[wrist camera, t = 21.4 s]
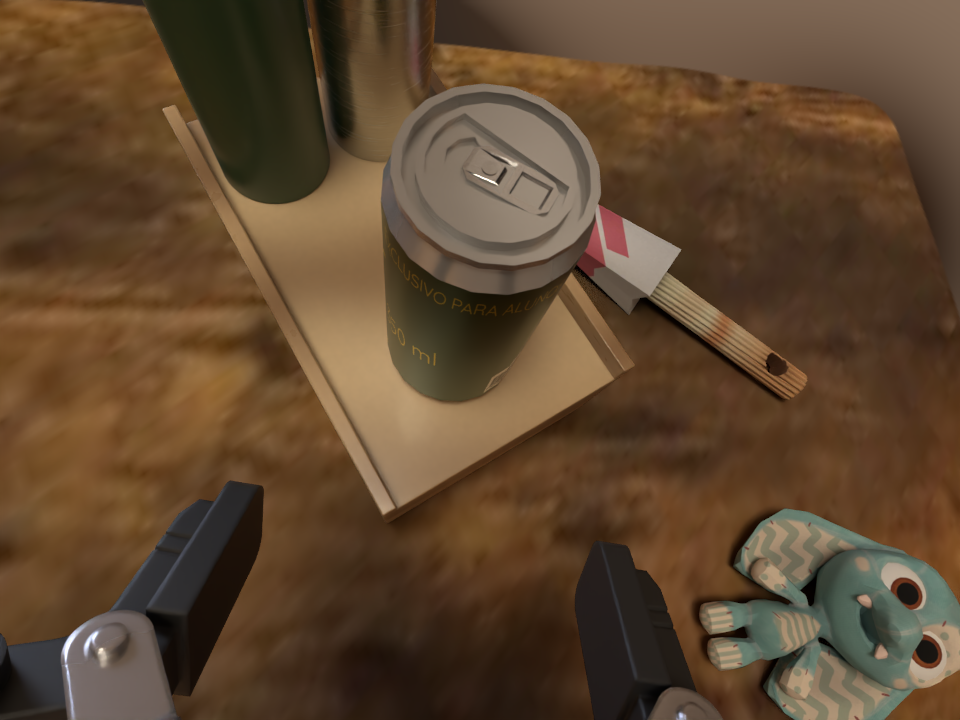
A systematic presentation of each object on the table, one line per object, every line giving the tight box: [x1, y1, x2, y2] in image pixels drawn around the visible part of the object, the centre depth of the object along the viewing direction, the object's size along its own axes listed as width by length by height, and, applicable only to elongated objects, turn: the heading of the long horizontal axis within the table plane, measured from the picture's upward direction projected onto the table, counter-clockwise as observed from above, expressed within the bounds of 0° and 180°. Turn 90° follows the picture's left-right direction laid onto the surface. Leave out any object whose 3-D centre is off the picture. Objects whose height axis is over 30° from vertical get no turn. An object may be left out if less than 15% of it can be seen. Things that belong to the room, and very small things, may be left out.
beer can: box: [381, 84, 601, 401], centre depth 19 cm, size 5×5×12 cm
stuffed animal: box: [699, 509, 960, 720], centre depth 27 cm, size 11×7×12 cm
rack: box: [143, 0, 635, 524], centre depth 23 cm, size 20×12×19 cm, turn 31°
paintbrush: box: [577, 205, 807, 399], centre depth 33 cm, size 4×3×20 cm
